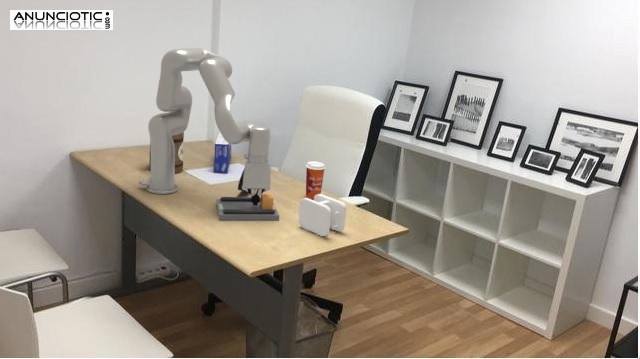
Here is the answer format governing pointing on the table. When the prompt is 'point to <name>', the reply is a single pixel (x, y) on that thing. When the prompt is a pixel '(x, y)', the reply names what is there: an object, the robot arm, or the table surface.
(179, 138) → the wooden container
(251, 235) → the table surface
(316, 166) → the coffee cup
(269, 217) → the breaker block
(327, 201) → the cable organizer
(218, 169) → the ink box
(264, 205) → the handle
